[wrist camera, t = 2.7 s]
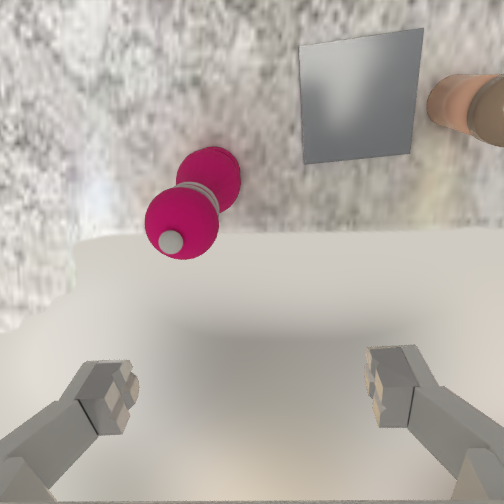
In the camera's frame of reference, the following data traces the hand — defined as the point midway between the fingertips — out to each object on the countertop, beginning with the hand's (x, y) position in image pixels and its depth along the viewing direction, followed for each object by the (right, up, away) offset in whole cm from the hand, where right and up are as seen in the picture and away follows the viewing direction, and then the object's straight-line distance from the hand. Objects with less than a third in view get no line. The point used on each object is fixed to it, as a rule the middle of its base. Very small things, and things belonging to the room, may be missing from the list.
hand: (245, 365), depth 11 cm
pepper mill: (-4, +14, +30) cm, 33 cm away
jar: (+22, +20, +24) cm, 38 cm away
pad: (+12, +20, +24) cm, 34 cm away
